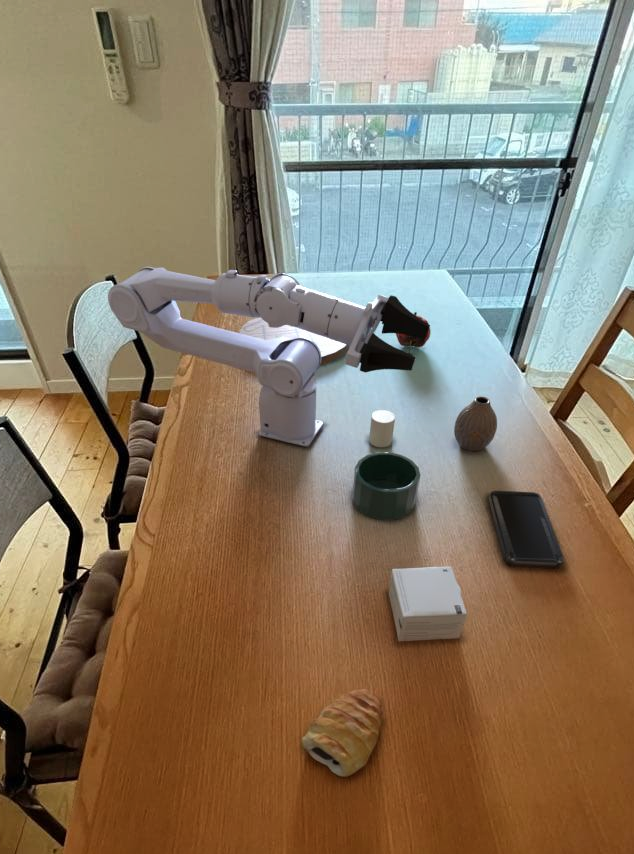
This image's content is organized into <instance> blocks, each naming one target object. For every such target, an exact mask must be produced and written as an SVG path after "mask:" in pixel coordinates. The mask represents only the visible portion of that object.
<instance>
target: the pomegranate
mask: <svg viewBox="0 0 634 854" xmlns="http://www.w3.org/2000/svg"><path fill="white" fill-rule="evenodd" d="M413 314H414V315H415V316H417V317H418V318H420V319H421V320H423V321H424V322H426V323H428V324H429V325H430V323H429V322H428V320H426V318H424V317H422V316H421V315H418V313H417V311H415V312H413ZM395 336H396V338H397V341H398V343H399V345H400V346H402V347H408V348H409V349H408V353H410V354H411V350H412V347H414V348H422V347H424V346H425V345H426V344H427V342H428V341H429V340H430V338H431V326H430V327H429V330H428V334H427V337H426V339H423V338H416V337H412V336H409V335H404V334H397V333H395Z"/></svg>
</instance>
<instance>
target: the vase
mask: <svg viewBox="0 0 634 854" xmlns="http://www.w3.org/2000/svg"><path fill="white" fill-rule="evenodd" d="M497 429H498V417H497V414H496V413H495V410H494V409H493V407H492V404H491V401H490V399H489V398H488V397H485V396H476V397H475V398H474V399H473V401H472V402H470V403H469V404H467V405H466V406H464V407H463V409H461V411H460V412H459V413H458V415H457V417H456V420H455V423H454V428H453V433H454V439H455V441H456V442H457V444H458V445H459V446H460V447H461V448H462V449H464V450H466V451H470V452H477V451H481V450H483V449H485V448H486V447H488V446H489V445H490V444H491V443H492V441H493V440H494V438H495V436H496V433H497Z"/></svg>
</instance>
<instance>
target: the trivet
mask: <svg viewBox="0 0 634 854" xmlns="http://www.w3.org/2000/svg"><path fill="white" fill-rule="evenodd" d="M238 333H239V334H243V335H247V336H251V337H255V338H259V339H262V340H270V339H274V338H280V337H284V338H288V339H294V338H297V337H305V338H308V339H310V340H312V341H313V342H314V343H315V344H316V345H317V346H318V347H319V349H320V352H321V363H320V366H325V365H327V364H330V363H332V362H335V361H337V360H339V359H341V358H342V357H343V356H345V354H347V352H348V350H349V348H350V345H347V344H344V343H341V342H338V341H335V340H332V339H329V338H326V337H323V336H320V335H317V334H314V333H311V332H308V331H305V330H302V329H300V328H297V327H292V326H289V325H283V326H281V327H278V328H272V327H269V326H268V323H267V322H265V321H264V320H263V319H262V318H261V317H260V318H255V317H253V318H252V319H249V320H248V321H247V322H245V323H244V324H243V325H242V326H241V329H240V330H239V331H238Z"/></svg>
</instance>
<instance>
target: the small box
mask: <svg viewBox="0 0 634 854" xmlns="http://www.w3.org/2000/svg"><path fill="white" fill-rule="evenodd" d="M457 581H458V580H457V578H456V575H455V572H454V569H453V567H452V566H430V567H429V566H428V567H409V568H392V571H391V575H390V582H389V588H388V597H389V601H390V607H391V610H392V616H393V620H394V624H395V630H396V635H397V641H398V642H410V641H413V642H414V641H432V640H452V639H460V636H461V633H462V630H463V627H464V624H465V622H466V619H467V616H468V613H467V610H466V606H465V602H464V600H463V596H462V589H461V586H460V585H459V584H458V582H457Z"/></svg>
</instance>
